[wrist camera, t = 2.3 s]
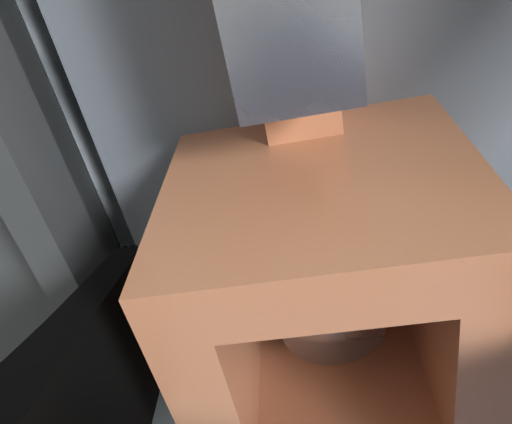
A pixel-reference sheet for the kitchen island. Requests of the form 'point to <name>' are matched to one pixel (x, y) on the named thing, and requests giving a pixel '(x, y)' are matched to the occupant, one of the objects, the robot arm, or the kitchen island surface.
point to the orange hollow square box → (329, 272)
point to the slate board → (219, 88)
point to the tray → (42, 197)
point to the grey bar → (298, 96)
